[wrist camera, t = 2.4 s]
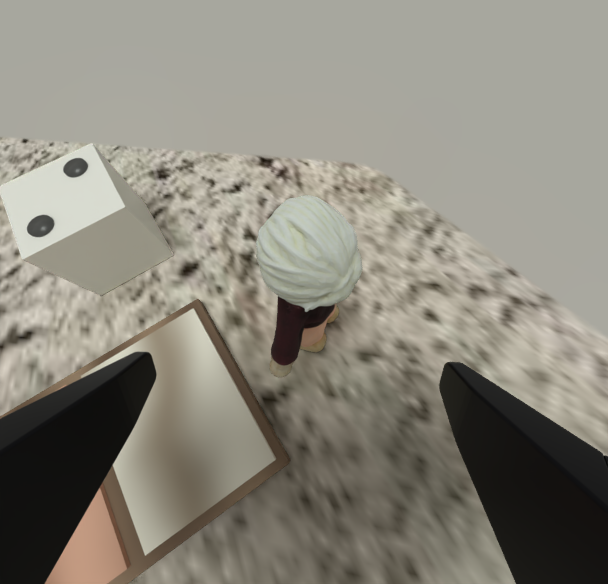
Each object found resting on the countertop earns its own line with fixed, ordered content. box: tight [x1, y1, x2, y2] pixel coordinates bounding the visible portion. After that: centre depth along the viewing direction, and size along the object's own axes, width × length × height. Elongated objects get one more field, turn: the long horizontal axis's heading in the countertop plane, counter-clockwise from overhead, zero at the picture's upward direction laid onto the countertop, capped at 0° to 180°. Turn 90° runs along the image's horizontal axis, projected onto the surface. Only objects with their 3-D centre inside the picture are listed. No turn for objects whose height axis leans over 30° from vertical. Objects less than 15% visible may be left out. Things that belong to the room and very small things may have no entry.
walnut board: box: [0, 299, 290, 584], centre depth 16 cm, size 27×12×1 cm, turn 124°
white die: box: [0, 143, 174, 296], centre depth 19 cm, size 6×6×6 cm
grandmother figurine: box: [256, 195, 362, 377], centre depth 14 cm, size 8×4×13 cm, turn 164°
